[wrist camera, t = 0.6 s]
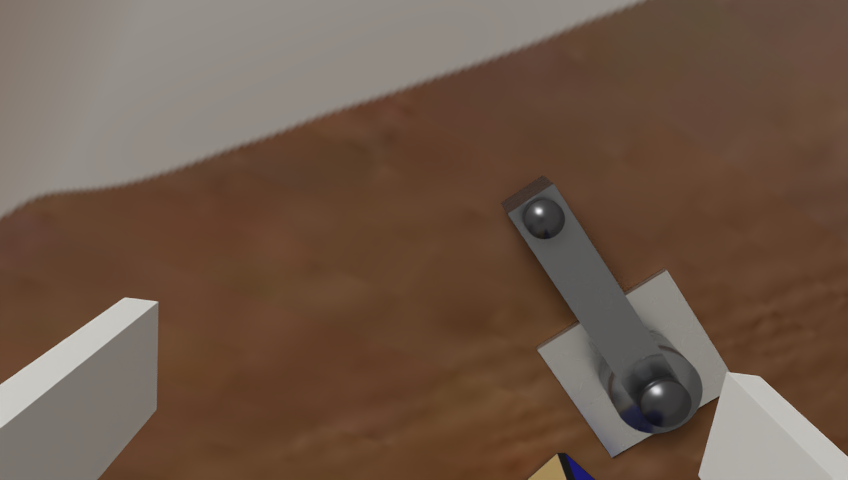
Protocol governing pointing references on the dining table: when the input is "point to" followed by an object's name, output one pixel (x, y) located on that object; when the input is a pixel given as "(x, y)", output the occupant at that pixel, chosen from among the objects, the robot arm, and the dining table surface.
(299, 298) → the dining table surface
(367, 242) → the dining table surface
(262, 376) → the dining table surface
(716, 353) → the pivot plate
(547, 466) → the puzzle cube
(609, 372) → the latch bar
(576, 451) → the dining table surface
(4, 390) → the robot arm
